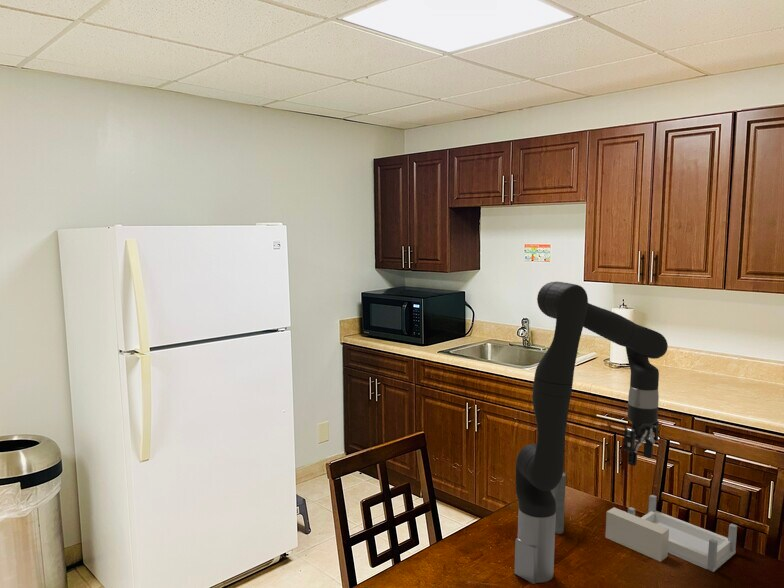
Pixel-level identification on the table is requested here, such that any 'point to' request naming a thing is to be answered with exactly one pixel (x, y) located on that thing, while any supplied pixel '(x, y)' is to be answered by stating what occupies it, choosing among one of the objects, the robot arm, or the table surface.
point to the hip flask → (560, 504)
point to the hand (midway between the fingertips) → (640, 460)
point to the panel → (637, 534)
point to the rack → (693, 539)
